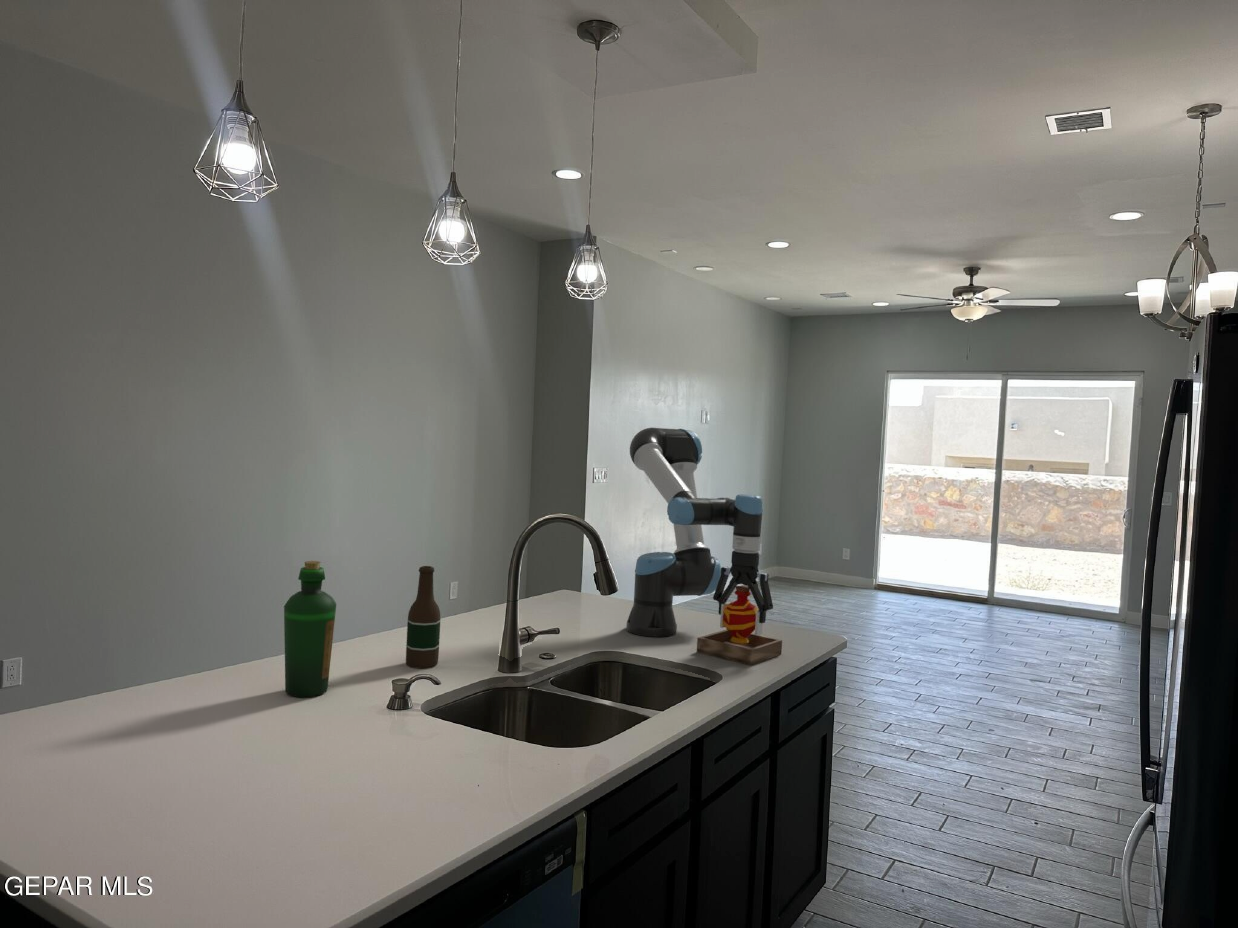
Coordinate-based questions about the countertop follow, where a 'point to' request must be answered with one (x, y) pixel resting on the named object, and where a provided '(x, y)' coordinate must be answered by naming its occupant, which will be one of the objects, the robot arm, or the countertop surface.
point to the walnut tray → (739, 647)
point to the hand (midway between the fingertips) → (740, 630)
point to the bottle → (308, 634)
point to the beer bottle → (423, 625)
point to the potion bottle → (740, 616)
